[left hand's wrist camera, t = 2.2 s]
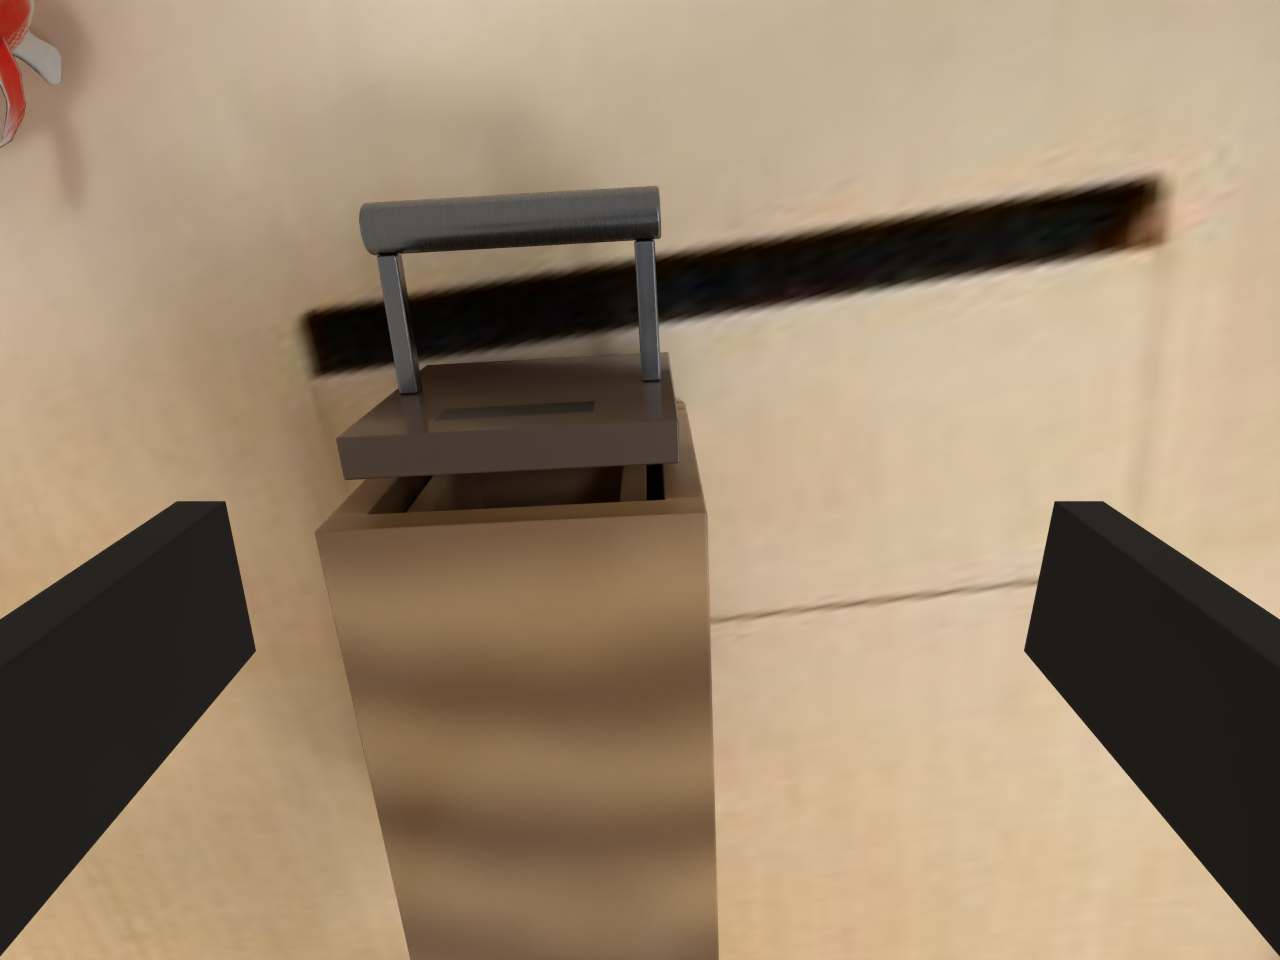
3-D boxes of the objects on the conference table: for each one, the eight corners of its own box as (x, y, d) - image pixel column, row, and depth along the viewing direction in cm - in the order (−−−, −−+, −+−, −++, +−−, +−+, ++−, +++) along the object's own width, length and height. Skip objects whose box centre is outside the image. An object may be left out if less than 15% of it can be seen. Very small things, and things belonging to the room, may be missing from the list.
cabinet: (426, 415, 30) (313, 531, 20) (685, 401, 30) (707, 512, 20) (489, 814, 38) (430, 1054, 27) (699, 805, 37) (721, 1044, 27)
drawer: (401, 201, 27) (288, 206, 18) (661, 186, 26) (669, 183, 18) (488, 770, 35) (440, 953, 27) (685, 761, 35) (699, 944, 27)
